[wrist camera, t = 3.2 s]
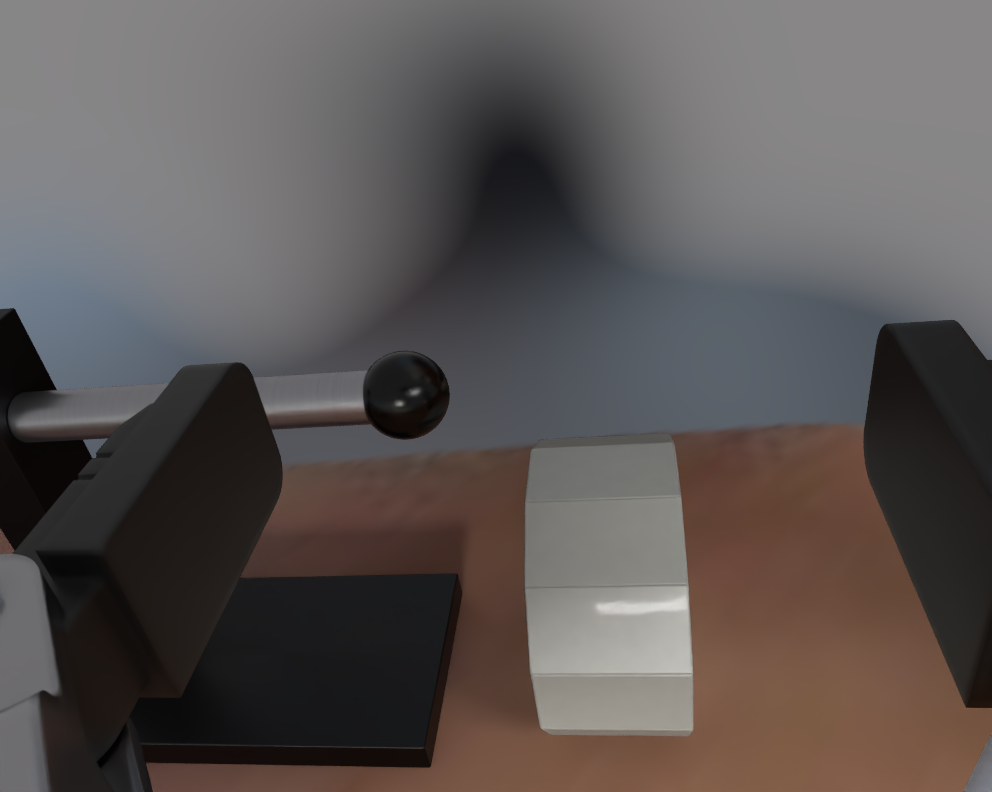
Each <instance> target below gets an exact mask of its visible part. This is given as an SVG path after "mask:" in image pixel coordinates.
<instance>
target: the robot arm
mask: <svg viewBox="0 0 992 792" xmlns="http://www.w3.org/2000/svg"><path fill="white" fill-rule="evenodd" d="M96 455H97V456H96V458H92V459H91V460H90V461H89V462H88V463H87V465H86V466H85V467H84V468H83V469H82V471H81V472H80V473H79V474H78V476H79V479H78V480H73V481H72V483H71V484H70V485H69V486H68V487H67V489H66V490H65V491H64V492H63V494H62V495H61V496H60V497H59V498H58V500H57V501H56V502H55V503H54V504H53V506H52V507H51V508H50V509H49V510H48V512H47V513H46V514H45V515H44V516H43V518H42V519H41V520H40V521H39V522H38V524H37V525H36V526H35V527H34V528H33V530H32V531H31V532H30V533H29V534H28V536H27V537H26V538H25V539H24V541H23V542H22V543H21V544H20V545H19V547H18V548H17V549H16V550H15V551H14V553H13V554H0V792H153V790H152V786H151V782H150V778H149V774H148V770H147V766H146V762H145V759H144V755H143V751H142V747H141V743H140V739H139V735H138V732H137V730H136V727H135V726H134V724H133V722H132V721H131V719H130V717H129V716H130V714H131V712H132V710H133V708H134V706H135V704H136V703H137V701H138V699H139V697H144V698H181V696H182V694H183V692H184V690H185V688H186V686H187V684H188V682H189V680H190V678H191V676H192V674H193V672H194V670H195V668H196V666H197V664H198V662H199V660H200V658H201V656H202V653H203V651H204V649H205V647H206V645H207V643H208V641H209V639H210V637H211V635H212V633H213V631H214V629H215V627H216V625H217V623H218V621H219V619H220V617H221V615H222V613H223V611H224V609H225V607H226V605H227V603H228V601H229V599H230V597H231V594H232V592H233V590H234V588H235V586H236V584H237V582H238V580H239V578H240V576H241V574H242V572H243V570H244V568H245V566H246V564H247V562H248V560H249V558H250V556H251V554H252V552H253V550H254V548H255V546H256V544H257V542H258V540H259V538H260V536H261V533H262V531H263V529H264V527H265V525H266V523H267V521H268V519H269V517H270V515H271V513H272V511H273V509H274V507H275V505H276V503H277V501H278V498H279V496H280V492H281V487H282V475H283V473H282V462H281V456H280V453H279V450H278V447H277V444H276V441H275V438H274V436H273V433H272V430H271V427H270V424H269V421H268V418H267V415H266V412H265V409H264V407H263V404H262V401H261V398H260V395H259V392H258V389H257V386H256V384H255V381H254V378H253V376H252V374H251V372H250V370H249V369H248V368H247V367H246V366H245V365H244V364H242V363H221V364H205V365H190V366H185V367H183V368H182V369H181V370H180V371H179V372H178V373H177V374H176V376H175V377H174V378H173V379H172V381H171V382H170V383H169V384H168V386H167V387H166V388H165V389H164V391H163V392H162V393H161V394H160V396H159V397H158V398H157V399H156V401H155V402H154V403H153V404H149V405H148V406H147V407H145V408H144V409H142V410H141V411H140V412H138V413H137V414H135V415H134V416H133V417H131V418H130V419H128V420H127V421H125V422H124V423H123V424H121V425H120V426H118V427H117V428H116V430H115V431H114V432H113V433H112V434H111V436H110V437H109V438H108V439H107V441H106V442H105V443H104V444H103V445H102V446H101V448H100V449H99V450H98V451H97V453H96ZM864 457H865V465H866V470H867V474H868V478H869V481H870V483H871V486H872V488H873V491H874V493H875V495H876V498H877V500H878V502H879V505H880V507H881V509H882V512H883V514H884V516H885V519H886V521H887V523H888V526H889V528H890V530H891V533H892V535H893V537H894V540H895V542H896V544H897V547H898V549H899V552H900V554H901V556H902V559H903V561H904V563H905V566H906V568H907V570H908V573H909V575H910V577H911V580H912V582H913V584H914V587H915V589H916V591H917V594H918V596H919V598H920V601H921V603H922V605H923V608H924V610H925V612H926V615H927V617H928V620H929V622H930V624H931V627H932V629H933V631H934V634H935V636H936V638H937V641H938V643H939V645H940V648H941V650H942V652H943V655H944V657H945V659H946V662H947V664H948V666H949V669H950V671H951V673H952V676H953V678H954V681H955V683H956V685H957V688H958V690H959V692H960V695H961V697H962V699H963V702H964V704H965V706H966V708H992V360H987V359H986V358H985V357H984V355H983V354H982V353H981V351H980V350H979V349H978V347H977V346H976V345H975V344H974V342H973V341H972V340H971V338H970V337H969V335H968V334H967V333H966V332H965V330H964V329H963V328H962V326H961V325H960V324H959V323H958V322H956V321H955V320H943V321H927V322H911V323H895V324H886V325H884V326H883V327H882V328H881V330H880V332H879V335H878V339H877V344H876V350H875V358H874V364H873V371H872V379H871V386H870V394H869V400H868V407H867V414H866V421H865V428H864ZM964 792H992V733H991V735H990V738H989V740H988V742H987V744H986V746H985V748H984V750H983V752H982V754H981V756H980V758H979V760H978V762H977V765H976V767H975V769H974V771H973V773H972V775H971V777H970V779H969V781H968V783H967V785H966V787H965V790H964Z"/></svg>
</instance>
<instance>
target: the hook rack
mask: <svg viewBox="0 0 992 792" xmlns="http://www.w3.org/2000/svg"><path fill="white" fill-rule="evenodd" d="M254 381H255V384H256V386H257V389H258V392H259V395H260V398H261V401H262V404H263V407H264V409H265V412H266V415H267V418H268V421H269V424H270V427H271V430H272V429H273V430H274V429H293V428H312V427H329V426H350V425H368V424H371V425H372V426H373V427H375V428H376V429H377V430H378V431H379V432H381V433H382V434H384V435H386V436H389V437H391V438H396V439H402V440H407V439H414V438H418V437H421V436H424V435H426V434H428V433H429V432H430V431H432V430H433V429H434V428H436V427H437V426H438V424H439V423H440V422H441V421H442V419H443V417H444V416H445V414H446V411H447V408H448V405H449V395H450V393H449V386H448V383H447V379H446V377H445V375H444V373H443V372H442V370H441V369H440V367H439V366H438V365H437V364H436V363H435V362H434V361H433V360H431V359H430V358H428V357H426V356H425V355H422V354H419V353H417V352H412V351H397V352H393V353H390V354H388V355H385V356H383V357H382V358H380V359H379V360H378V361H376V362H375V363H374V364H373V365H372V366H371V367H370V368H369V370H365V371H349V372H333V373H318V374H302V375H287V376H271V377H255V378H254ZM168 384H169V383H162V384H146V385H131V386H115V387H99V388H84V389H68V390H57V389H56V387H55V386H54V384H53V382H52V380H51V378H50V376H49V374H48V372H47V370H46V368H45V367H44V364H43V362H42V360H41V359H40V357H39V355H38V353H37V351H36V349H35V347H34V345H33V343H32V341H31V339H30V338H29V335H28V334H27V332H26V330H25V328H24V326H23V324H22V322H21V320H20V318H19V316H18V314H17V312H16V310H15V309H14V308H10V309H0V529H1V530H2V532H3V533H4V535H5V536H6V538H7V540H8V541H9V543H10V544H11V546H12V547H13V549H14V551H15V550H16V549H17V548H18V547H19V545H20V544H21V543H22V542H23V541H24V539H25V538H26V537H27V536H28V534H29V533H30V532H31V531H32V530H33V528H34V527H35V526H36V525H37V524H38V522H39V521H40V520H41V519H42V518H43V516H44V515H45V514H46V513H47V512H48V510H49V509H50V508H51V507H52V506H53V504H54V503H55V502H56V501H57V500H58V498H59V497H60V496H61V495H62V494H63V492H64V491H65V490H66V489H67V487H68V486H69V485H70V484H71V483H72V481H73V480H78V479H79V476H78V474H79V473H80V472H81V471H82V469H83V468H84V467H85V466H86V465H87V463H88V462H89V461H90V460H91V459H92V457H91V455H90V453H89V451H88V449H87V447H86V445H85V443H84V441H83V440H84V439H102V438H103V439H104V438H109V437H110V436H111V434H112V433H113V432H114V431H115V430H116V428H117V427H118V426H120V425H121V424H123V423H124V422H125V421H127V420H128V419H130V418H131V417H133V416H134V415H135V414H137V413H138V412H140V411H141V410H142V409H144V408H145V407H147V406H148V405H149V404H153V403H154V402H155V401H156V399H157V398H158V397H159V396H160V394H161V393H162V392H163V391H164V389H165V388H166V387H167V386H168ZM461 596H462V590H461V586H460V582H459V577H458V574H456V573H455V574H409V575H363V576H317V577H271V578H239V580H238V582H237V584H236V586H235V588H234V590H233V592H232V594H231V597H230V599H229V601H228V603H227V605H226V607H225V609H224V611H223V613H222V615H221V617H220V619H219V621H218V623H217V625H216V627H215V629H214V631H213V633H212V635H211V637H210V639H209V641H208V643H207V645H206V647H205V649H204V651H203V653H202V656H201V658H200V660H199V662H198V664H197V666H196V668H195V670H194V672H193V674H192V676H191V678H190V680H189V682H188V684H187V686H186V688H185V690H184V692H183V694H182V696H181V698H144V697H139V699H138V701H137V703H136V704H135V706H134V708H133V710H132V712H131V714H130V716H129V717H130V719H131V721H132V722H133V724H134V726H135V727H136V730H137V732H138V735H139V739H140V743H141V747H142V751H143V755H144V759H145V762H148V763H203V764H259V765H315V766H371V767H427V768H429V767H430V766H431V762H432V756H433V751H434V745H435V740H436V734H437V729H438V723H439V718H440V712H441V707H442V701H443V695H444V690H445V684H446V679H447V673H448V668H449V662H450V657H451V651H452V646H453V640H454V635H455V629H456V624H457V618H458V613H459V607H460V602H461Z"/></svg>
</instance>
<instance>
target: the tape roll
mask: <svg viewBox="0 0 992 792" xmlns="http://www.w3.org/2000/svg"><path fill="white" fill-rule="evenodd" d="M524 586H525V589H524V590H525V606H526V621H527V636H528V651H529V666H530V673H531V674H530V675H531V681H532V686H533V692H534V698H535V703H536V709H537V714H538V720H539V725H540V728H541V729H542V730H544V731H545V732H547V733H549V734H551V735H617V736H690V734H691V733H692V731H693V728H694V701H693V657H692V639H691V620H690V601H689V585H688V571H687V559H686V547H685V535H684V523H683V511H682V499H681V490H680V482H679V474H678V467H677V459H676V451H675V445H674V442H673V440H672V438H671V436H670V434H668V433H662V434H641V435H620V436H600V437H579V438H558V439H541V440H539V441H538V442H537V443H536V445H535V446H534V447H533V448H532V450H531V451H530V460H529V469H528V478H527V487H526V496H525V549H524Z"/></svg>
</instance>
